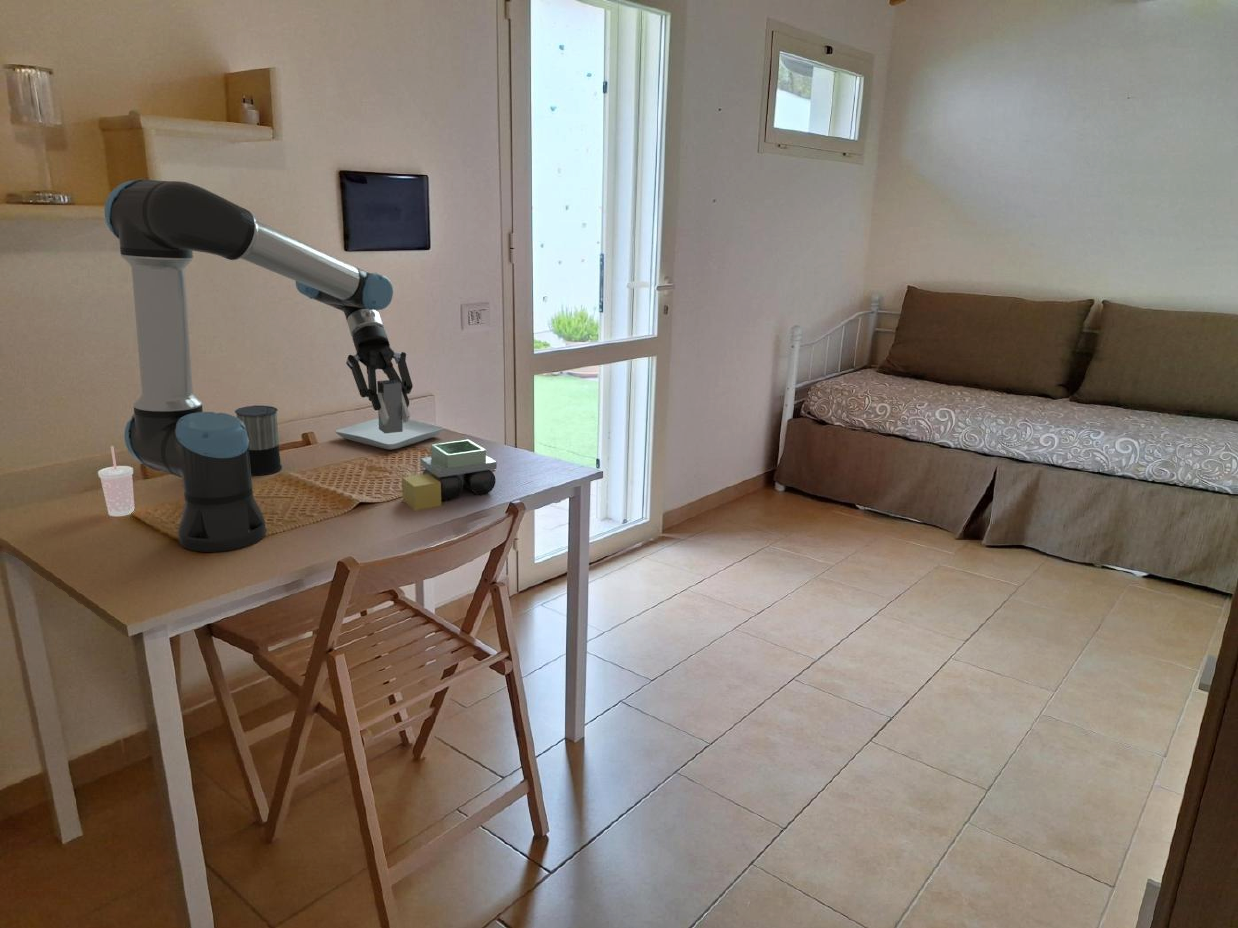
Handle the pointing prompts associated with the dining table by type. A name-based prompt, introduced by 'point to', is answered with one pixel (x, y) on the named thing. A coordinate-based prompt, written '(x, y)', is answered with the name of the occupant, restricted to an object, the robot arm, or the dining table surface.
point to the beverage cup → (118, 488)
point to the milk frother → (261, 438)
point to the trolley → (460, 468)
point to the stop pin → (391, 405)
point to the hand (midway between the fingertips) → (396, 420)
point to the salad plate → (389, 434)
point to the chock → (421, 491)
